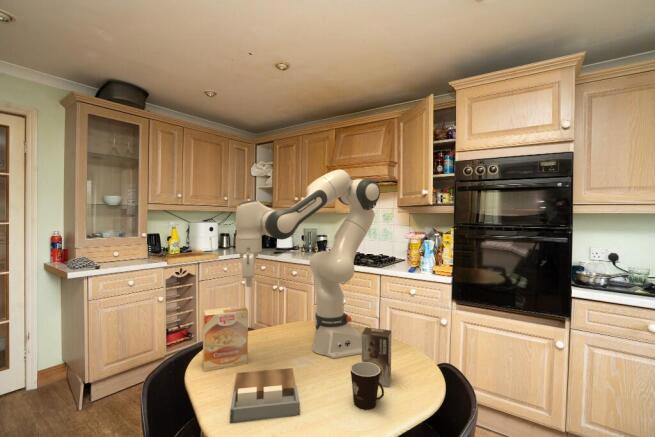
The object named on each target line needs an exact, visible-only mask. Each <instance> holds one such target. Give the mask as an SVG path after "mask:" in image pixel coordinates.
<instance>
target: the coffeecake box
mask: <svg viewBox="0 0 655 437" xmlns="http://www.w3.org/2000/svg"><path fill="white" fill-rule="evenodd" d="M202 317H203V319H202V320H203V321H202V322H203V325H202V326H203V327H202V328H203V329H202V330H203V332H202V333H203V334H202V367H203V372H207V371H214V370H217V369H223V368H228V367H229V368H230V367H234V366H235V367H236V366H239V365H244V364H248V353H249V352H248V349H249V347H248V345H249V344H248V342H249V340H248V339H249V310H248V308H247V307H246V305H239V306H230V307H228V306H227V307H221V308H219V307H218V308H211V309H209V308H208V309H203V316H202Z"/></svg>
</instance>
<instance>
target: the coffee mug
mask: <svg viewBox="0 0 655 437" xmlns="http://www.w3.org/2000/svg"><path fill="white" fill-rule="evenodd" d="M349 369H350V378H351V380H350V381H351V387H352V388H351V389H352V399H353V404H354V406H355V407H356V409H359V410H362V409H363V411H370V410H373V409H375V407H376V405H377V401H379V400H381V399H383V397H384V395H385V390H384V386H382V385H381V384H380V383H379V378H380V368H379V367H378V366H377V365H375V364H373V363H369V362H362V361H358V362H354V363H352V365H351V366H350V368H349ZM379 388H380V390H381V395H380V396H378V393H379Z"/></svg>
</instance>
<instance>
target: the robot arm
mask: <svg viewBox="0 0 655 437" xmlns="http://www.w3.org/2000/svg"><path fill="white" fill-rule="evenodd" d="M305 195H306V196H305V197H304V198H303V199H301V200H300V201H299V202H297V203H295V204H294V205H293V206H291V207H288V208H282V209H273V208H270V207H269V206H266V205H264V204H263V203H262V202H260V201H259V200H257V199H256V200H255V199H254V200H249V201H244V202H243V201H242V202H241V203H239V204H238V205H237V207H236V211H235V230H236V235H235V253H237V254H239V258H242V259H241V261H242V267H241V268H242V270H241V271H242V272H241V273H242V278H243V279H245V283H246V287H247V288H251V287H252V284H253V278H254V277H255V266H256V260H257V259H256V258H257V257H258V256H259V253H261V252H263V250H262V248H263V246H262V245H263V244H262V242H263V241H262V240H263V238H262V237H263V236H264V235H265V236H268V237H271V238H275V239H277V240H287V239H288V238H290V237H292V236H293V235H294V234H295V233H296V230H297V229H298V228H299V226H300V225H301V224H302V223H303V222H304V221H306V220H307V219H308V218H310V217H312V215H314V214H315V213H317V212H318V211H319V210H320V209H322V208H325V207H327V206H329V205H330V204H332V203H334V202H335V201H337V200H338V201H339V202H340V203H341V204H343V205H345V206H350V209H349V212H348V214H347V216H346V217H345V219H344V220H343V221H342V223H341V224H340V226H339V227H338V230H336V232H335V235H334V243H333V245H332V249H331V251H326V250H321V251H318V252H314V253H313V254H312V255H311V257H310V259H309V268H310V270H311V272H312V277H313V282H314V287H315V293H316V294H315V296H316V311H315V316H314V326H315V330H314V331H315V332H314V338H313V343H312V346H311V349H312V351H313V352H315V353H316V354H318V355H322V356H327V357H329V358H332V359H338V358H343V357H344V358H345V357H349V356H350V357H351V356H355V355H362V335H361V333H360V331H359V330H358V329H357V328H356V327H355V326H354V325H352V324H351V322H352V317H351V316H350V315H348V314H347V313H345V311H344V303H345V301H344V299H345V298H344V297H345V296H344V292H343V290H342V288H341V285H340V284H342V283H347V282H349V281H350V280H351V279H353V276H354V274H355V265H354V263H355V262H354V261H355V257H356V254H357V251H358V250H359V248H360V246H361V244H362V242H363V240H364V239H365V237H366V236H367V234H368V232H369V230H370V229H371V226H372V224H373V222H374V219H375V211H374V210H373V209H374V208H375V207H376V206H377V203H378V201H379V199H380V195H381V189H380V185H379V183H378V182H376V181H375V180H373V179H370V178H364V179H363V178H357V179H352V178H351V177H350V175H349V173H348V172H347V171H346V170H343V169H335V170H332V171H328V172H327V173H326V174H324V175H322V176H319V177H318V178H317V179H315V180H313V181H312V182H311V183H310V184H309V185H308V186H307V188H306V194H305Z"/></svg>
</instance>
